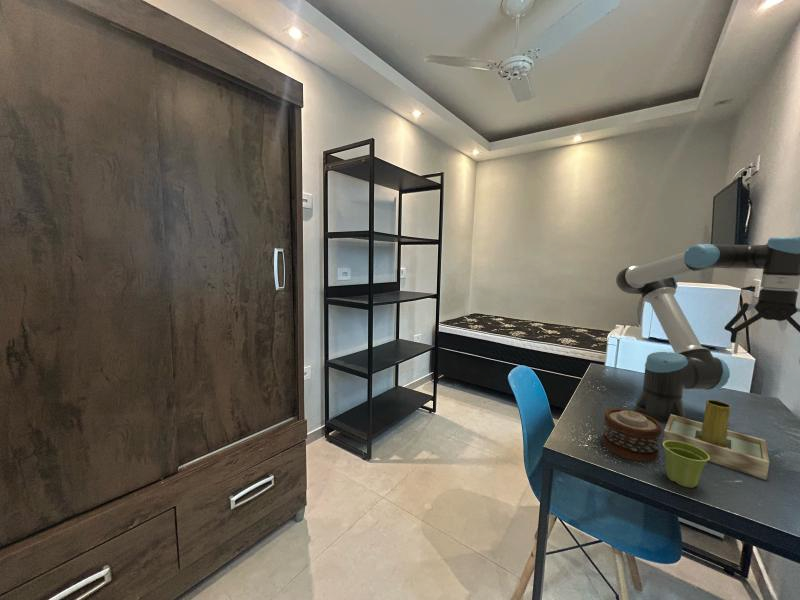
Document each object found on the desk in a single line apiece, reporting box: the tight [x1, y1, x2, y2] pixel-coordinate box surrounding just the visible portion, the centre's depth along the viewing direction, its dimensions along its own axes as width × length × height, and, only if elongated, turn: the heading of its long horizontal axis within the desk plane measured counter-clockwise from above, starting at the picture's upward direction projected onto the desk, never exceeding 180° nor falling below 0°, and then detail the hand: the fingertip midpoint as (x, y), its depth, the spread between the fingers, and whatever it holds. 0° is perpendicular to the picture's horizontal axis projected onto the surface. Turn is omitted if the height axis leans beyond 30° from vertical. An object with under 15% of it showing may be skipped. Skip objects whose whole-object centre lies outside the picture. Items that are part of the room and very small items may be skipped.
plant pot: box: [661, 440, 710, 489], centre depth 86 cm, size 9×9×9 cm
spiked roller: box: [602, 408, 663, 463], centre depth 101 cm, size 15×11×15 cm
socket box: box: [661, 414, 770, 481], centre depth 100 cm, size 22×16×5 cm
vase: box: [699, 399, 731, 448], centre depth 100 cm, size 6×6×14 cm
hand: (766, 358), depth 100 cm, fingers open, 13 cm apart
